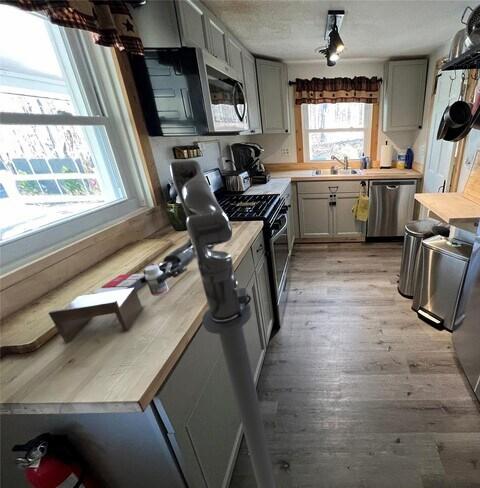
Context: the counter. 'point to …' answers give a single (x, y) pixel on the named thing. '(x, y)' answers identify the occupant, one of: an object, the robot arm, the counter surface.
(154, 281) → the pill bottle
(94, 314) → the spice shelf
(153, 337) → the counter surface
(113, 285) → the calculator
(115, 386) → the counter surface
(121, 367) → the counter surface
